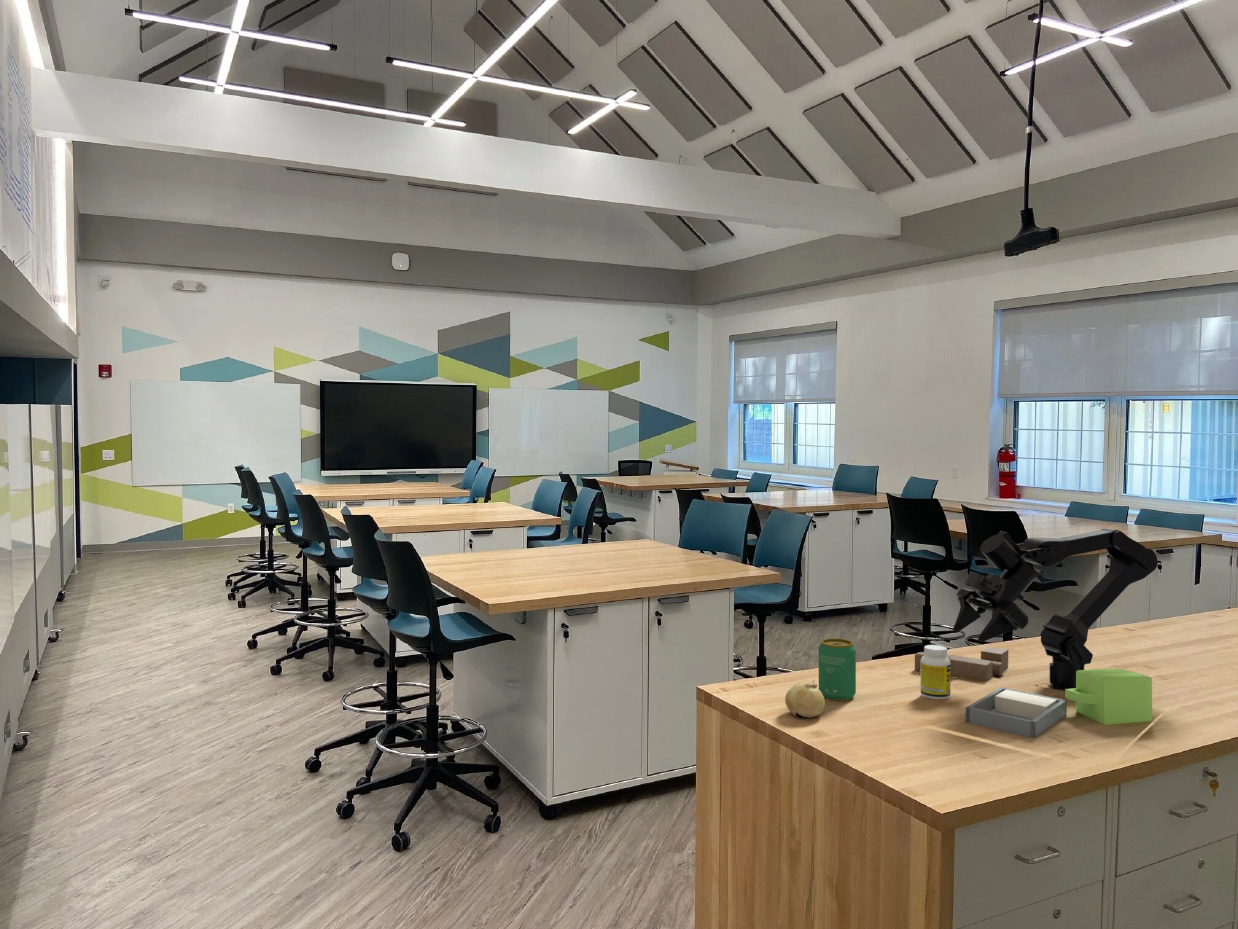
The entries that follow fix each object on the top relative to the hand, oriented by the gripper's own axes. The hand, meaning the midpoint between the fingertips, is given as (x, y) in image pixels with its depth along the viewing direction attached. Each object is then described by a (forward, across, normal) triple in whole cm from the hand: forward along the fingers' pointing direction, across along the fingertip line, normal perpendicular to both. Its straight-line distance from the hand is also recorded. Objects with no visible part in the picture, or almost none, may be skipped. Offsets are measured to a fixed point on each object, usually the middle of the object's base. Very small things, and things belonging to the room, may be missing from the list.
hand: (966, 635), depth 189 cm
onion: (+38, +4, -18) cm, 42 cm away
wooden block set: (+2, -18, +18) cm, 25 cm away
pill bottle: (+15, 0, +4) cm, 15 cm away
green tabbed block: (-5, +20, +24) cm, 31 cm away
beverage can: (+29, -6, -10) cm, 31 cm away
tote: (+9, +17, +9) cm, 22 cm away
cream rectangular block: (+6, +15, +12) cm, 20 cm away
